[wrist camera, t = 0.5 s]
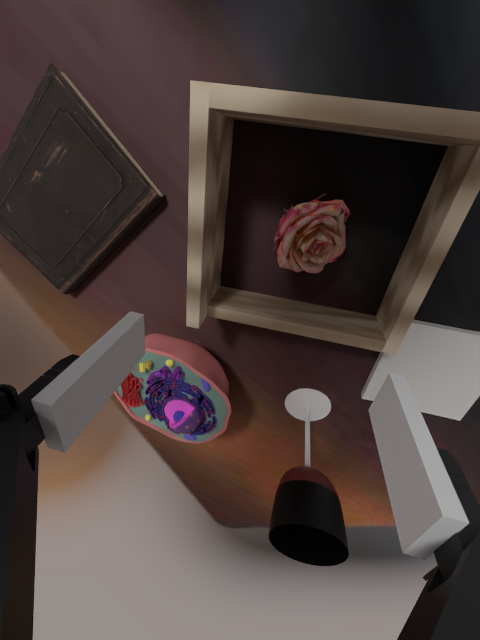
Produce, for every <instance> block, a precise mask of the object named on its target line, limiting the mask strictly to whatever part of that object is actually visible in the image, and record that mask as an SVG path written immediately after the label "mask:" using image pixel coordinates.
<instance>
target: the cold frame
mask: <svg viewBox="0 0 480 640" xmlns="http://www.w3.org/2000/svg"><path fill="white" fill-rule="evenodd" d="M234 119H235V120H243V121H251V122H259V123H267V124H275V125H283V126H291V127H300V128H308V129H316V130H324V131H332V132H340V133H348V134H356V135H364V136H372V137H380V138H389V139H397V140H405V141H413V142H421V143H429V144H437V145H445V146H448V147H447V150H446V152H445V154H444V157H443V159H442V161H441V164H440V166H439V169H438V171H437V173H436V176H435V178H434V180H433V183H432V185H431V187H430V190H429V192H428V194H427V197H426V199H425V201H424V204H423V206H422V208H421V211H420V213H419V216H418V218H417V220H416V223H415V225H414V227H413V230H412V232H411V234H410V237H409V239H408V241H407V244H406V246H405V248H404V251H403V253H402V255H401V258H400V260H399V262H398V265H397V267H396V270H395V272H394V274H393V277H392V279H391V281H390V284H389V286H388V288H387V291H386V293H385V295H384V298H383V300H382V302H381V305H380V307H379V309H378V312H377V314H376V316H374V315H369V314H363V313H358V312H353V311H348V310H343V309H338V308H332V307H327V306H322V305H317V304H312V303H307V302H301V301H296V300H291V299H286V298H281V297H275V296H270V295H265V294H260V293H255V292H250V291H244V290H239V289H234V288H229V287H224V286H220V282H221V270H222V258H223V246H224V234H225V222H226V210H227V199H228V187H229V175H230V163H231V151H232V139H233V127H234ZM479 190H480V112H474V111H465V110H455V109H446V108H437V107H428V106H419V105H410V104H401V103H391V102H382V101H373V100H364V99H355V98H346V97H337V96H328V95H318V94H309V93H300V92H291V91H282V90H273V89H264V88H255V87H245V86H236V85H227V84H218V83H209V82H200V81H191V80H190V138H189V198H188V258H187V317H186V326H189V327H193V328H198V329H199V328H200V326H201V324H202V323H203V321H204V319H205V318H206V316H209V317H214V318H219V319H224V320H228V321H233V322H238V323H243V324H248V325H253V326H257V327H262V328H267V329H272V330H277V331H282V332H286V333H291V334H296V335H301V336H306V337H311V338H315V339H320V340H325V341H330V342H335V343H340V344H345V345H349V346H354V347H359V348H364V349H369V350H374V351H378V352H383V353H388V354H393V355H395V354H396V352H397V350H398V348H399V346H400V344H401V343H402V341H403V339H404V337H405V335H406V333H407V331H408V329H409V327H410V325H411V323H412V321H413V319H414V317H415V315H416V313H417V311H418V309H419V307H420V305H421V303H422V301H423V299H424V297H425V296H426V294H427V292H428V290H429V288H430V286H431V284H432V282H433V280H434V278H435V276H436V274H437V272H438V270H439V268H440V266H441V264H442V262H443V260H444V258H445V256H446V254H447V252H448V250H449V249H450V247H451V245H452V243H453V241H454V239H455V237H456V235H457V233H458V231H459V229H460V227H461V225H462V223H463V221H464V219H465V217H466V215H467V213H468V211H469V209H470V207H471V205H472V203H473V202H474V200H475V198H476V196H477V194H478V192H479Z"/></svg>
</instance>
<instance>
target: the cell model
mask: <svg viewBox="0 0 480 640" xmlns="http://www.w3.org/2000/svg"><path fill="white" fill-rule="evenodd" d="M114 394H115V395H116V397H117V398H118V400H119V401H120V402H121V404H122V405H123V407H124V408H125V409H126V411H127V412H128V413H129V414H130V415H131V416H132V417H133V418H134V419H135V420H137V421H139V422H141V423H143V424H145V425H147V426H149V427H151V428H153V429H155V430H157V431H159V432H161V433H163V434H164V435H166V436H168V437H170V438H172V439H175V440H178V441H181V442H186V443H194V444H201V443H207V442H209V441H211V440H213V439H215V438H216V437H218V436H219V435H221V434H222V433H224V431H225V430H226V428H227V424H228V420H229V417H230V415H231V405H230V401H229V382H228V379H227V377H226V374H225V372H224V370H223V368H222V366H221V364H220V363H219V362H218V361H217V360H216V358H215V357H213V356H212V355H211V354H210V353H209V352H208V351H207V350H206V349H204V348H203V347H201V346H200V345H198V344H195V343H193V342H189V341H186V340H183V339H179V338H175V337H172V336H168V335H165V334H160V333H152V334H149V335H147V336H145V355H144V356H143V357H142V358H141V360H140V361H139V362H138V363H137V365H136V366H135V367H134V368H133V370H132V371H131V372H130V373H129V374H128V376H127V377H126V378H125V379H124V381H123V382H122V383H121V384H120V386H119V387H118V388H117V389H116V391H115V392H114Z"/></svg>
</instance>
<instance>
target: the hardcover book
mask: <svg viewBox="0 0 480 640" xmlns="http://www.w3.org/2000/svg"><path fill="white" fill-rule="evenodd" d="M164 197H165V195H164V196H163V195H162V194H161V193H160V191H159V190H158V189H157V188H156V186H155V185H154V184H153V183H152V181H151V180H150V179H149V178H148V176H147V175H146V174H145V173H144V171H143V170H142V169H141V168H140V166H139V165H138V164H137V163H136V161H135V160H134V159H133V158H132V156H131V155H130V154H129V153H128V151H127V150H126V149H125V148H124V147H123V145H122V144H121V143H120V142H119V140H118V139H117V138H116V137H115V135H114V134H113V133H112V132H111V130H110V129H109V128H108V127H107V125H106V124H105V123H104V122H103V120H102V119H101V118H100V117H99V115H98V114H97V113H96V112H95V110H94V109H93V108H92V107H91V106H90V104H89V103H88V102H87V101H86V99H85V98H84V97H83V96H82V94H81V93H80V92H79V91H78V89H77V88H76V87H75V86H74V84H73V83H72V82H71V81H70V79H69V78H68V77H67V76H66V74H65V73H63V72H59V71H58V70H57V68H56V67H55V66H54V65H53V64H52V63H50V65H49V67H48V69H47V71H46V73H45V75H44V77H43V78H42V80H41V82H40V84H39V86H38V88H37V90H36V92H35V94H34V95H33V97H32V99H31V101H30V103H29V105H28V107H27V109H26V111H25V112H24V114H23V116H22V118H21V120H20V122H19V124H18V126H17V128H16V129H15V131H14V133H13V135H12V137H11V139H10V141H9V143H8V144H7V146H6V148H5V150H4V152H3V154H2V156H1V158H0V234H1V235H2V236H3V237H4V238H5V239H6V240H7V241H8V242H10V243H11V244H12V245H13V246H14V247H15V248H16V249H17V250H18V251H19V252H20V253H21V254H22V255H23V256H24V257H25V258H26V259H27V260H28V261H29V262H30V263H31V264H32V265H33V266H34V267H36V268H37V269H38V270H39V271H40V272H41V273H42V274H43V275H44V276H45V277H46V278H47V279H48V280H49V281H50V282H51V283H52V284H53V285H54V286H55V287H56V288H57V289H58V290H59V291H60V292H62V293H63V294H69V293H71V292H72V291H73V290H74V289H75V288H76V287H77V286H78V285H79V284H80V283H81V282H82V281H83V280H84V279H85V278H86V277H87V276H88V275H89V274H90V273H91V272H92V271H93V270H94V269H95V268H96V267H97V266H98V265H99V264H100V263H101V262H102V261H103V260H104V259H105V258H106V257H107V256H108V255H109V254H110V253H111V252H112V251H113V250H114V249H115V248H116V247H117V246H118V244H119V243H120V242H121V241H122V240H123V239H124V238H125V237H126V236H127V235H128V234H129V233H130V232H131V231H132V230H133V229H134V228H135V227H136V226H137V225H138V224H139V223H140V222H141V221H142V220H143V219H144V218H145V217H146V216H147V215H148V214H149V213H150V212H151V211H152V210H153V209H154V208H155V207H156V206H157V205H158V204H159V203H160V202H161V201H162V200H163V198H164Z"/></svg>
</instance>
